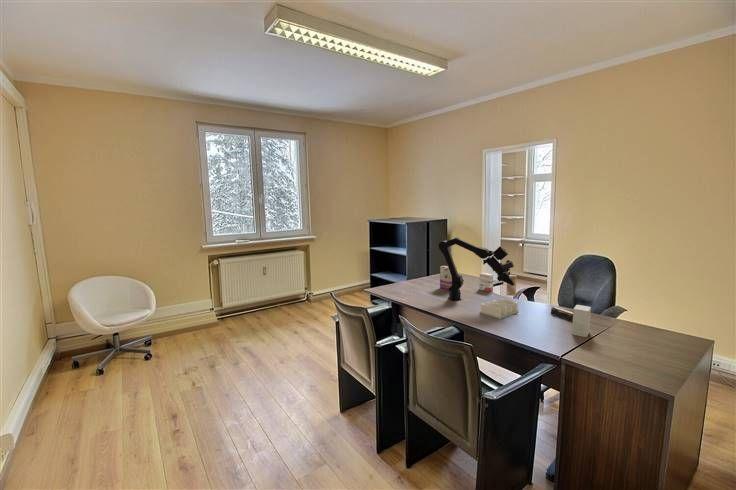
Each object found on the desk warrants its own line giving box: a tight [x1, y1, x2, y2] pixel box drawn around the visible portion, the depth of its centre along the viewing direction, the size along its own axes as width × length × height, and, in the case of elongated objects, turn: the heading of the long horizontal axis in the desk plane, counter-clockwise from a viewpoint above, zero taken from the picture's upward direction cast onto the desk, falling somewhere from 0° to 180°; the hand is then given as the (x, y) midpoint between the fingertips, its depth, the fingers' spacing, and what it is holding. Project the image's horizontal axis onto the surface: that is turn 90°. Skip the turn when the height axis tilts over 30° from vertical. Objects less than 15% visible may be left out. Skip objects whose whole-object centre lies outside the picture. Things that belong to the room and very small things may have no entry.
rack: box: [479, 297, 519, 320], centre depth 200 cm, size 13×18×6 cm
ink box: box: [478, 272, 494, 292], centre depth 247 cm, size 8×5×12 cm, turn 39°
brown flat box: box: [550, 306, 573, 322], centre depth 194 cm, size 14×25×4 cm, turn 24°
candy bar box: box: [439, 265, 458, 291], centre depth 250 cm, size 11×5×16 cm, turn 43°
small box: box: [571, 304, 592, 338], centre depth 169 cm, size 8×6×13 cm
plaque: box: [506, 274, 517, 297], centre depth 210 cm, size 5×3×12 cm, turn 63°
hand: (513, 284), depth 210 cm, fingers closed on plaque, 3 cm apart
